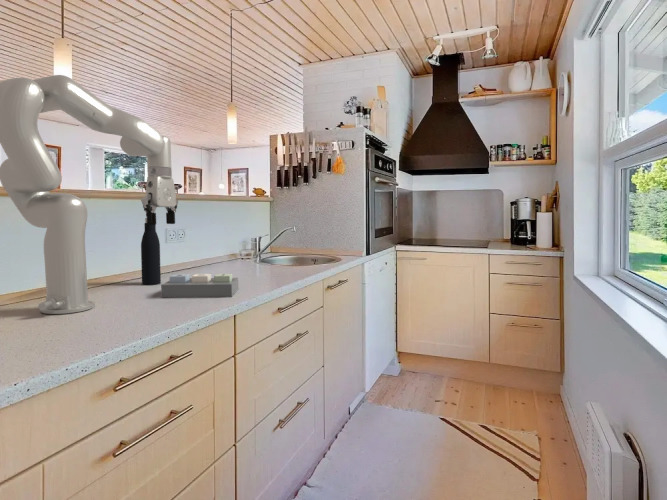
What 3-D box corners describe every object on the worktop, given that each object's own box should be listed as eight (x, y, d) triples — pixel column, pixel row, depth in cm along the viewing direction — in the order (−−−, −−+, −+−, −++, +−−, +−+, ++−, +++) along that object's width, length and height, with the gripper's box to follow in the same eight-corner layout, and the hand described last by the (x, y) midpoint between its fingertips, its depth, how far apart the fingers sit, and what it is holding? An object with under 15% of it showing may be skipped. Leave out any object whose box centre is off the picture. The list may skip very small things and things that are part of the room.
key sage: (229, 285, 137) (229, 275, 136) (214, 285, 136) (213, 275, 136) (232, 282, 142) (232, 273, 141) (217, 282, 141) (217, 273, 141)
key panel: (231, 296, 133) (231, 284, 133) (161, 297, 132) (161, 284, 131) (238, 289, 146) (238, 277, 146) (174, 289, 145) (174, 278, 144)
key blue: (185, 285, 136) (185, 276, 136) (169, 285, 136) (169, 276, 135) (189, 282, 141) (189, 273, 140) (174, 283, 140) (174, 273, 140)
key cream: (207, 285, 136) (207, 275, 136) (191, 285, 136) (191, 276, 136) (211, 282, 141) (211, 273, 141) (196, 282, 141) (195, 273, 141)
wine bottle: (163, 283, 156) (162, 202, 155) (146, 285, 152) (144, 201, 150) (156, 281, 161) (154, 202, 159) (138, 283, 156) (136, 201, 154)
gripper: (151, 171, 133) (153, 225, 135) (185, 175, 150) (186, 223, 151) (131, 171, 135) (133, 225, 137) (167, 175, 152) (168, 223, 153)
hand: (161, 224), depth 144 cm, fingers open, 9 cm apart
